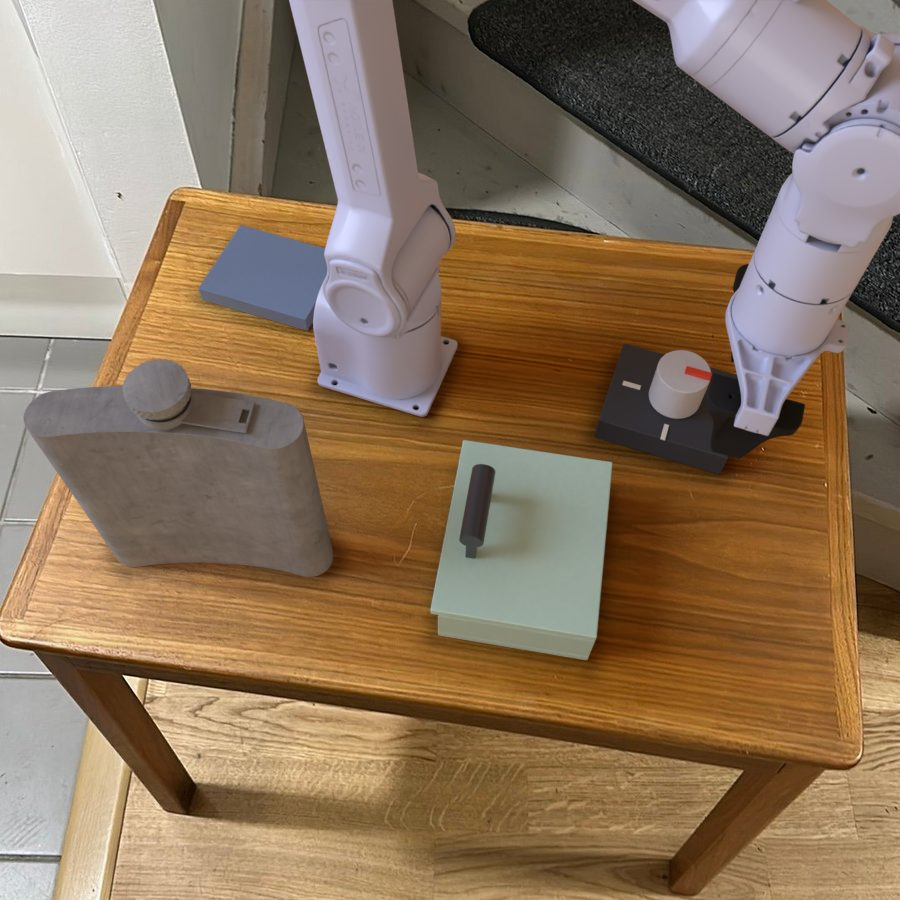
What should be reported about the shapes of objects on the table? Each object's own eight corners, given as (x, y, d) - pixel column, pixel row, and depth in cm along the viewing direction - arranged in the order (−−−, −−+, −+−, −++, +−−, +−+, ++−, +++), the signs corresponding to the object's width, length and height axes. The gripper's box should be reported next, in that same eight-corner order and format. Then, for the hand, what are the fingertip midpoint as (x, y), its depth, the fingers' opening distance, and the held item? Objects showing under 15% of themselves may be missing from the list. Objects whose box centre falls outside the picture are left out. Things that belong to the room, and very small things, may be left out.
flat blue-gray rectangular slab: (201, 300, 80) (197, 288, 78) (243, 236, 84) (240, 224, 82) (307, 331, 78) (305, 319, 77) (345, 265, 82) (343, 253, 81)
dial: (643, 410, 71) (652, 381, 68) (654, 371, 73) (665, 341, 70) (694, 425, 70) (706, 396, 67) (704, 385, 72) (717, 355, 69)
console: (593, 438, 73) (598, 419, 70) (619, 360, 77) (624, 340, 74) (719, 476, 71) (728, 458, 69) (738, 394, 75) (748, 374, 73)
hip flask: (110, 566, 66) (-3, 410, 49) (124, 516, 69) (20, 349, 52) (330, 578, 66) (293, 425, 49) (337, 527, 68) (304, 364, 51)
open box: (437, 635, 64) (437, 615, 61) (468, 471, 71) (469, 445, 68) (587, 660, 63) (595, 641, 60) (603, 492, 70) (611, 467, 67)
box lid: (430, 614, 61) (429, 588, 57) (462, 444, 68) (464, 411, 64) (595, 641, 60) (605, 616, 56) (611, 466, 67) (621, 434, 63)
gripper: (866, 386, 47) (780, 512, 58) (891, 195, 54) (810, 341, 65) (727, 349, 48) (670, 479, 59) (770, 166, 55) (712, 315, 66)
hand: (736, 405), depth 62 cm, fingers open, 7 cm apart
